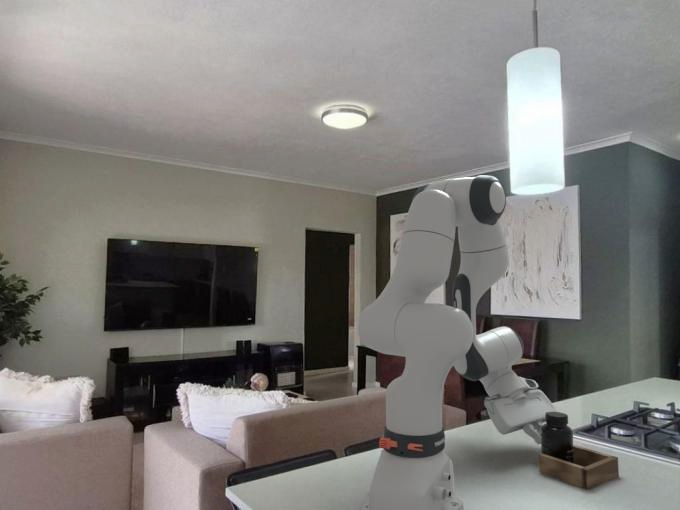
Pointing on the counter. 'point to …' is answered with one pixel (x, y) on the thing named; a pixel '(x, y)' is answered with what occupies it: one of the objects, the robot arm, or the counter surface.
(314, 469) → the counter surface
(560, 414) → the supplement bottle
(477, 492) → the counter surface
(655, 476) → the counter surface
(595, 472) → the walnut holder
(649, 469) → the counter surface
